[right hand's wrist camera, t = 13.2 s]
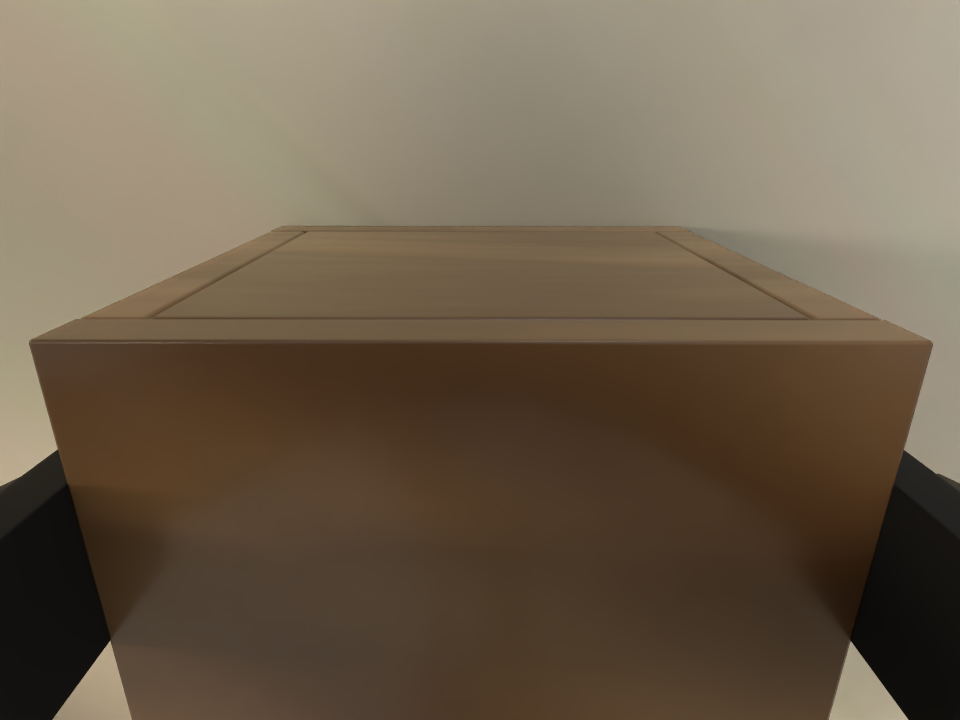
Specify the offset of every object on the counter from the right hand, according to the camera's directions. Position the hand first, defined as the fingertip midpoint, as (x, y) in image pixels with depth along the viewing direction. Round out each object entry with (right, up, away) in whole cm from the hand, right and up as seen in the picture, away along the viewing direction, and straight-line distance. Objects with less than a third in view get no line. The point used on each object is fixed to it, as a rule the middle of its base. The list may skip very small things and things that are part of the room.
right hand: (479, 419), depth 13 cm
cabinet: (0, -4, +7) cm, 8 cm away
